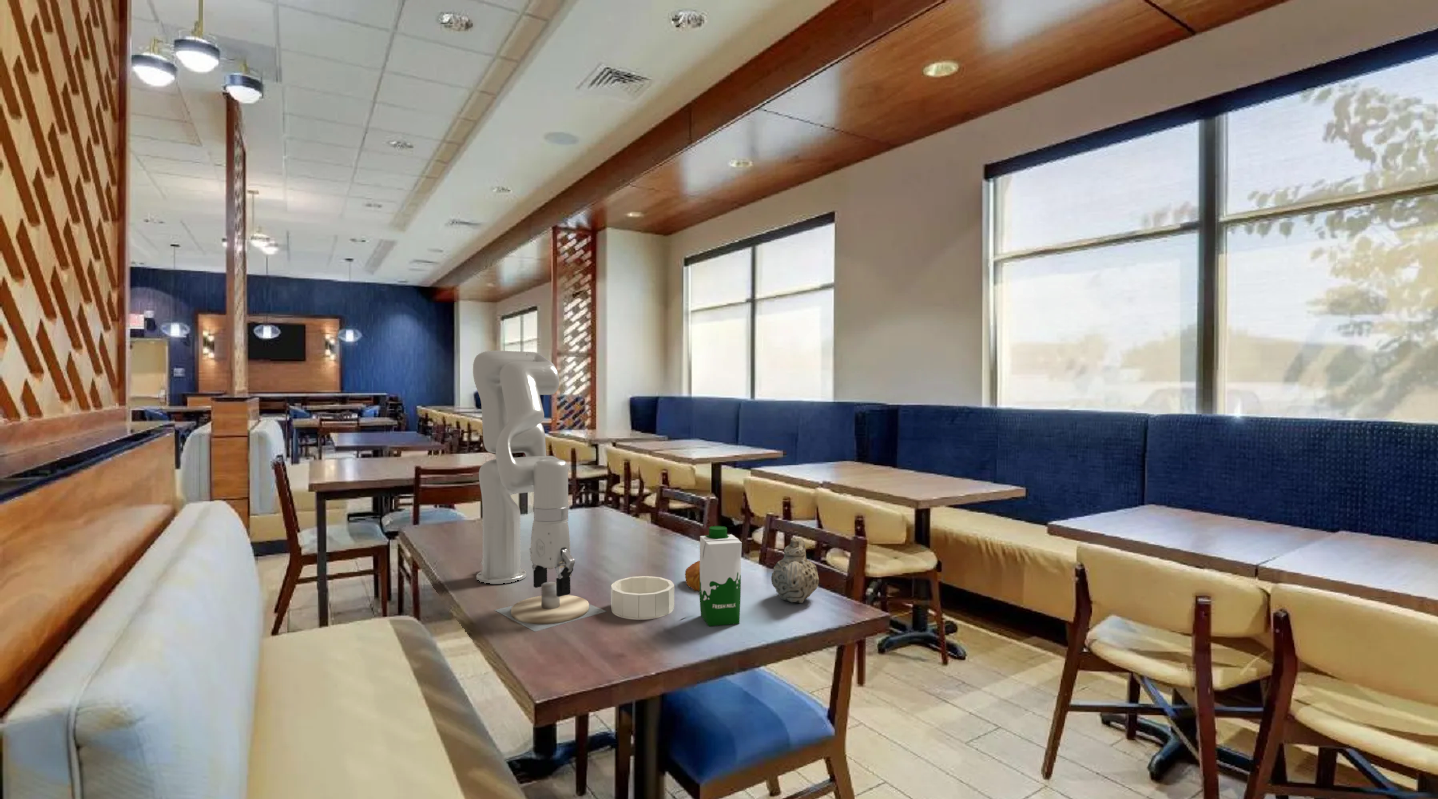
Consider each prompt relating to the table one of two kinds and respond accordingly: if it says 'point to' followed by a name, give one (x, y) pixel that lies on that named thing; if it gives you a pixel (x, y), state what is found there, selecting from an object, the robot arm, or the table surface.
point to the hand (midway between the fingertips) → (551, 590)
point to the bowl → (642, 597)
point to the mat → (537, 627)
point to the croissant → (693, 576)
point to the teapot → (795, 573)
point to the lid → (549, 607)
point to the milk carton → (720, 577)
